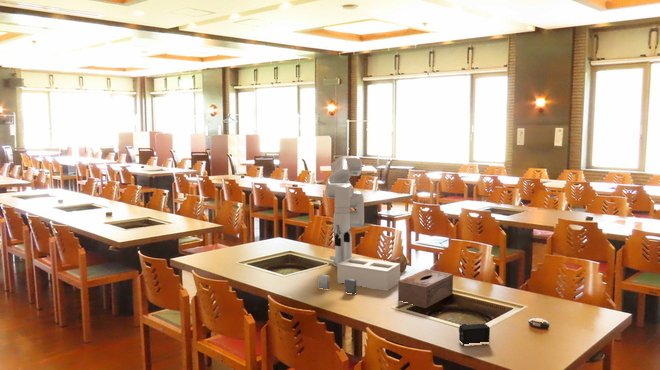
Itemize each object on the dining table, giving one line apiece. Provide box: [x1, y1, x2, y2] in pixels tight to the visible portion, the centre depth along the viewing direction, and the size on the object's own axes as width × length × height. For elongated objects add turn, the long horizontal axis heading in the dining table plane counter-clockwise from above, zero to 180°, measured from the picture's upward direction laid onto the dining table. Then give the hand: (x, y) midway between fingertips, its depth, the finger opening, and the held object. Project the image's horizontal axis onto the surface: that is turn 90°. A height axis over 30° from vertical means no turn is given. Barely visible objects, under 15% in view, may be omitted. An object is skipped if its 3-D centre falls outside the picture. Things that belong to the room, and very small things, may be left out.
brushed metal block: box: [344, 278, 357, 295], centre depth 270 cm, size 5×2×7 cm, turn 60°
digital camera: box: [458, 322, 491, 344], centre depth 211 cm, size 10×5×7 cm, turn 100°
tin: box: [390, 256, 408, 274], centre depth 305 cm, size 15×3×8 cm, turn 143°
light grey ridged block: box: [317, 273, 331, 290], centre depth 277 cm, size 5×2×7 cm, turn 60°
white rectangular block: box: [337, 256, 401, 292], centre depth 287 cm, size 28×16×10 cm, turn 60°
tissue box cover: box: [397, 268, 454, 309], centre depth 263 cm, size 26×14×10 cm, turn 140°
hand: (342, 244), depth 279 cm, fingers open, 9 cm apart
